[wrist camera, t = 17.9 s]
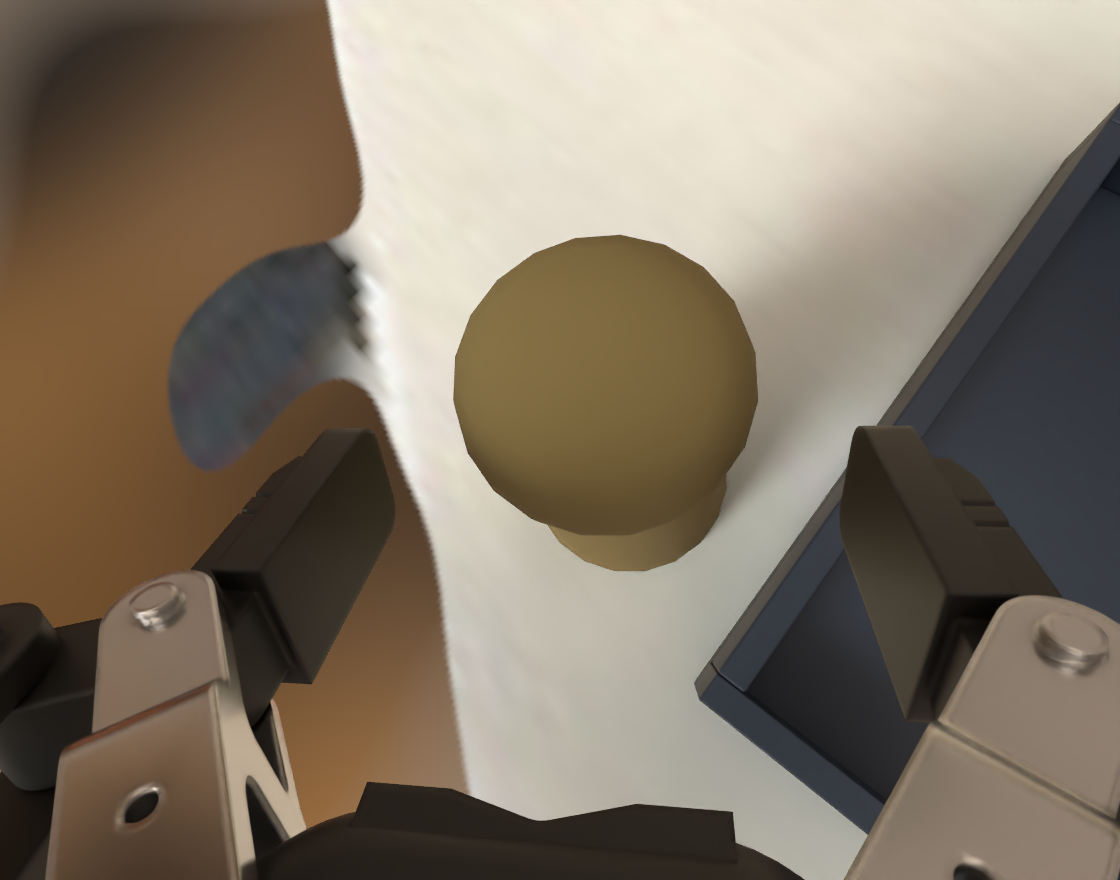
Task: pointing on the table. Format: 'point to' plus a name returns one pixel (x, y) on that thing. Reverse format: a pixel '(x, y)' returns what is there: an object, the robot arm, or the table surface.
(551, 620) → the table surface
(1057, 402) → the pan
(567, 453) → the cork
